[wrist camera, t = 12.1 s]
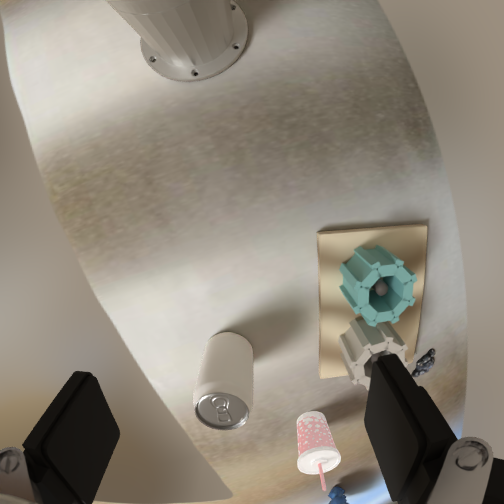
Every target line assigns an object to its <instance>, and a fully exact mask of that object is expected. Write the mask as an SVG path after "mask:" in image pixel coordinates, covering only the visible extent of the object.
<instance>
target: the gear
mask: <svg viewBox="0 0 504 504" xmlns="http://www.w3.org/2000/svg"><path fill="white" fill-rule="evenodd" d="M349 324H350V325H351V326H350V327H349V329H348V330H347V332H346V333H345V334H344V336H339V339H338V343H339V345H340V347H341V350H342V353H341V354H340V355H341V358H342V360H343V362H344V365H345V367H346V369H347V372H348V374H349V377H350V379H351V381H352V383H353V384H354V385H356V384H358V383H360V384H362V385H365V387H366V389H367V390H369V386H370V379H371V371H372V364H373V363H372V362H371V360H370V357H371V356H372V354H375V353H378V352H380V354H381V356H383V355H388V354H394V353H395V354H397V355H398V357H399V358H400V360H401V361H402V363H403V364H404V366H405V367H407V364H408V361H407V359H406V358H405V351H406V350H407V349H408V347H407V346H406V344H405V343H404V341H403V340H402V339H401V337H400V336H399V335H398V333H397V332H396V331H395V330H394V328H393V327H392V326H391V324H390V323H389V322H388V321H386V322H385V323H383V322H379V323H377V324H376V326H375V327H374V326H370V325H368V324H367V322H366V321H365V319H363V320H360V321H356V320H355V319H354V320H352V321H351V322H349Z"/></svg>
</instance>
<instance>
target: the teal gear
mask: <svg viewBox="0 0 504 504" xmlns="http://www.w3.org/2000/svg"><path fill="white" fill-rule="evenodd" d="M354 252H355V254H354V255H353V257H352V258H351V259H350V260H349V261H348V262H347V263H346V264H344V263H341V266H340V269H339V271H340V272H341V273H342V275H343V285H341V286H339V288H340V290H341V292H342V294H343V295H344V297H345V298H346V300H347V301H348V303H349V305H350V306H351V308H352V309H353V311H354V312H355V314H356V315H357V314H358V313H361V315H362V316H363V318H364V319H365V321H366V322H367V324H368V325H370V326H374V327H375V326H376V324H377V323H379V322H385V321H390V322H391V323H392V324H394V323H395V322H397V321H399V317H398V316H399V315H400V314H401V313H402V312H403V311H404V310H405V309H406V308H407V307H408V305H410V306H413V304H414V302H415V298H414V297H413V296H412V295H413V284H414V283H415V282H416V281H417V277H416V274H415V273H414V272H412V271H411V270H410V269H408V268H407V267H406V266H404V265H403V264H404V261H402V260H401V259H400V258H398V257H397V256H395V255H394V254H392V253H391V252H390V251H388V250H387V249H385V248H384V247H382V246H379V245H376V247H375V249H366V250H365V249H363V248H362V247H361V246H359V247H358V248H356V249H354ZM380 277H383V280H382V281H383V282H384V283H385V284H386V285H387V286H388V291H387V293H386V294H385V295H383V296H380V295H378V294H377V293H376V292H375V290H369V289H370V288H371V287H372V286H373V285H374V283H375V282H376V281H377V280H378V279H379V278H380Z"/></svg>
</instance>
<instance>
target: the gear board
mask: <svg viewBox="0 0 504 504" xmlns="http://www.w3.org/2000/svg"><path fill="white" fill-rule="evenodd" d="M376 245H379V246H382V247H384V248H385V249H387V250H388V251H390V252H391V253H392V254H394V255H395V256H397V257H398V258H400V259H401V260H402V261H404V264H403V265H404V266H406V267H407V268H408V269H410V270H411V271H412V272H414V273H415V274H416V277H417V281H416V282H415V283H414V284H413V295H412V296H413V297H414V298H415V302H414V304H413V306H410V305H408V307H407V308H406V309H405V310H404V311H403V312H402V313H401V314H400V315H399V316H398V317H399V321H397V322H395V323H394V324H392V323H391V322H390V321H388V322H389V323H390V324H391V326H392V327H393V328H394V330H395V331H396V332H397V333H398V335H399V336H400V337H401V339H402V340H403V341H404V343H405V344H406V346H407V347H408V349H407V350H406V351H405V358H406V359H407V361H408V363H412V362H413V357H414V351H415V346H416V340H417V334H418V327H419V320H420V313H421V305H422V296H423V286H424V275H425V262H426V245H427V226H425V225H423V224H414V225H400V226H387V227H373V228H360V229H348V230H335V231H323V232H317V247H318V277H319V375H320V378H321V379H324V378H331V377H338V376H345V375H349V374H348V372H347V369H346V367H345V365H344V362H343V360H342V358H341V355H340V354H341V353H342V350H341V347H340V345H339V343H338V339H339V336H344V334H345V333H346V332H347V330H348V329H349V327H350V326H351V325H350V324H349V322H351V321H352V320H354V319H355V320H356V321H360V320H363V319H364V318H363V316H362V315H361V313H358V314H357V315H356V314H355V312H354V311H353V309H352V308H351V306H350V305H349V303H348V301H347V300H346V298H345V297H344V295H343V294H342V292H341V290H340V288H339V286H341V285H343V275H342V273H341V272H340V271H339V269H340V266H341V263H344V264H346V263H347V262H348V261H349V260H350V259H351V258H352V257H353V255H354V254H355V252H354V249H356V248H358V247H359V246H361V247H362V248H363V249H365V250H366V249H375V247H376ZM382 280H383V277H380V278H379V279H378V280H377V281H376V282H375V283H374V285H373V286H372V287H371V288H370V289H369V290H375V292H376V293H377V294H378V295H380V296H383V295H385V294H386V293H387V291H388V286H387V285H386V284H385V283H384V282H383V281H382ZM385 322H386V321H385ZM385 322H383V323H385ZM379 356H381V354H380V352H378V353H375V354H372V356H371V357H370V360H371V362H372V363H373V362H374V361H377V359H378V357H379Z"/></svg>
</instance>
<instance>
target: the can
mask: <svg viewBox="0 0 504 504" xmlns="http://www.w3.org/2000/svg"><path fill="white" fill-rule="evenodd" d="M193 404H194V407H195V408H194V411H195V415H196V417H197V418H198V420H199V421H200V422H201V423H203V424H204V425H206V426H208V427H210V428H213V429H217V430H232V429H236V428H238V427H240V426H242V425H243V424H244V423H245V422H246V421H247V420H248V417H249V414H250V412H251V410H252V407H253V349H252V346H251V344H250V343H249V342H248V340H247V339H245V338H244V337H243V336H241V335H238V334H236V333H231V332H225V333H220V334H217V335H215V336H213V337H211V338H210V339H209V340H208V342H207V343H206V345H205V348H204V352H203V356H202V360H201V364H200V368H199V372H198V377H197V381H196V385H195V389H194V394H193Z"/></svg>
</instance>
